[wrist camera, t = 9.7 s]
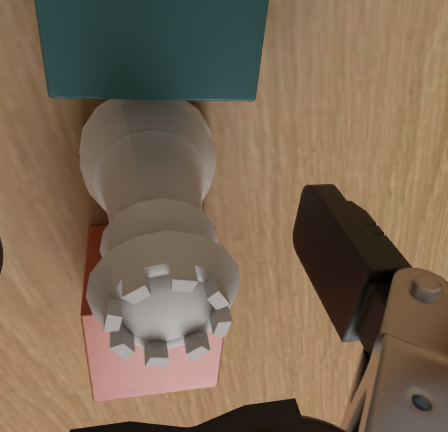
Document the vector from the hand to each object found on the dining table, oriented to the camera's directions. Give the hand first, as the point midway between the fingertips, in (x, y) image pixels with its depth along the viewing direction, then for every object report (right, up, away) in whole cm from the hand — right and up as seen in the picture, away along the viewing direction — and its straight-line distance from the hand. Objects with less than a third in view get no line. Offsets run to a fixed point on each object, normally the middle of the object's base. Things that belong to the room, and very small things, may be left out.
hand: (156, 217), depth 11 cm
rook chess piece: (-1, +3, +4) cm, 5 cm away
